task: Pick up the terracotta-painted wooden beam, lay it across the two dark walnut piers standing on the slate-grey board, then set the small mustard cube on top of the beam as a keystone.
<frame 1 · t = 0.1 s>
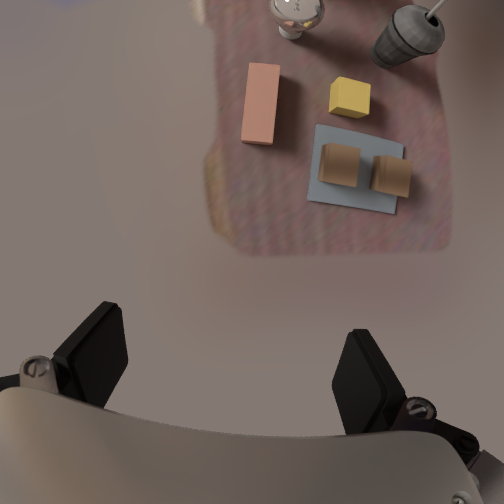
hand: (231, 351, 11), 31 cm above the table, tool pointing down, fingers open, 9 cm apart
board: (357, 169, 38), on the table
cube: (344, 101, 35), on the table
pier 2: (383, 175, 38), point 1 cm above the table, touching board
beverage cup: (382, 56, 33), on the table
light bulb: (289, 34, 32), on the table
beam: (260, 107, 36), on the table
pier 1: (333, 165, 37), point 1 cm above the table, touching board
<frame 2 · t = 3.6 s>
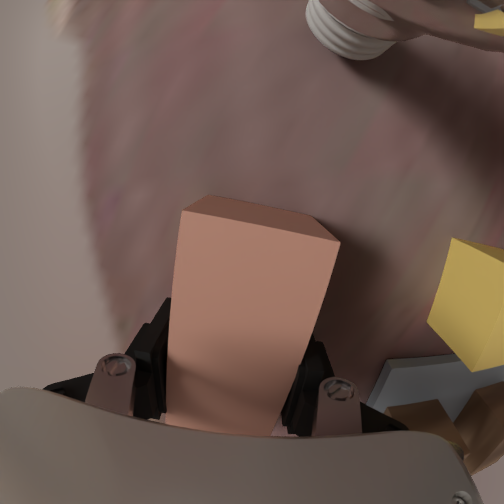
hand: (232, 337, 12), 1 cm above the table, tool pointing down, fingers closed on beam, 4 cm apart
board: (437, 412, 15), on the table
cube: (467, 283, 12), on the table
pier 2: (474, 408, 14), point 1 cm above the table, touching board
light bulb: (338, 38, 9), on the table
beam: (234, 328, 12), on the table, touching gripper
pier 1: (397, 428, 14), point 1 cm above the table, touching board
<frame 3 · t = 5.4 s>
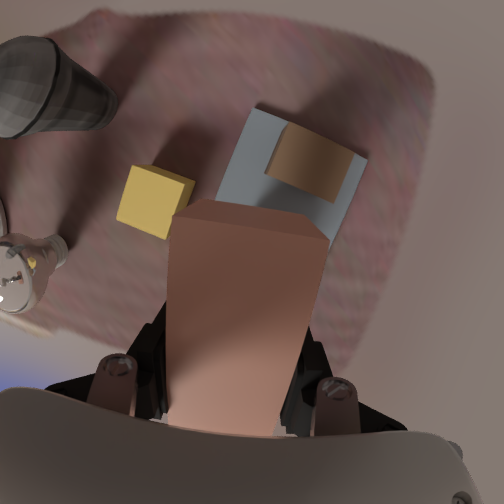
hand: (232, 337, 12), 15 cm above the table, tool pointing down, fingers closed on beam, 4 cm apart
board: (280, 205, 25), on the table
cube: (164, 196, 25), on the table
pier 2: (300, 163, 23), point 1 cm above the table, touching board
beverage cup: (99, 108, 22), on the table
light bulb: (63, 246, 26), on the table
beam: (233, 329, 12), point 14 cm above the table, touching gripper
when the fingers open (7 cm above the table, at t = 7.7 s): beam stays where it is, resting on pier 2, pier 1.
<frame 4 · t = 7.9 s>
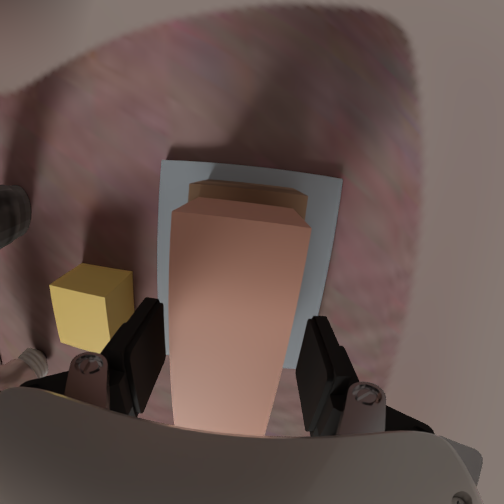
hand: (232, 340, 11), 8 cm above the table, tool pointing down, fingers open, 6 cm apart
board: (241, 274, 19), on the table
cube: (108, 294, 20), on the table
pier 2: (246, 216, 17), point 1 cm above the table, touching beam, board
beverage cup: (17, 210, 18), on the table
light bulb: (43, 354, 22), on the table
beam: (232, 318, 13), point 6 cm above the table, touching pier 2, pier 1
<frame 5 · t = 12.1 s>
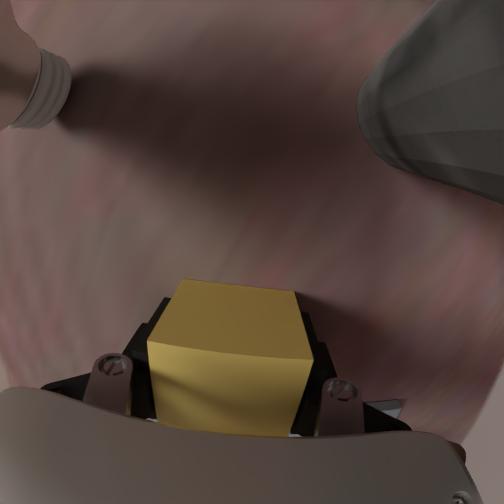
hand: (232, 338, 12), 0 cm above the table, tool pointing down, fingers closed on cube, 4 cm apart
board: (269, 455, 15), on the table
cube: (233, 332, 12), on the table, touching gripper
beverage cup: (403, 118, 9), on the table
light bulb: (61, 96, 9), on the table
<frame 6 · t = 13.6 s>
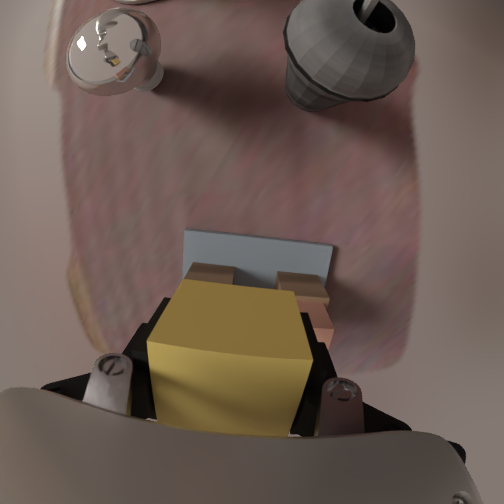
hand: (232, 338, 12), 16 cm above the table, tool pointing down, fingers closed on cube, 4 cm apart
board: (253, 288, 28), on the table
cube: (233, 332, 12), point 16 cm above the table, touching gripper
pier 2: (293, 296, 28), point 1 cm above the table, touching beam, board
beverage cup: (309, 89, 23), on the table
light bulb: (151, 79, 22), on the table
beam: (252, 317, 23), point 6 cm above the table, touching pier 2, pier 1
pier 1: (212, 288, 28), point 1 cm above the table, touching beam, board
when the fingers open (11 cm above the table, at t = 15.2 s): cube drops 1 cm, resting on beam.
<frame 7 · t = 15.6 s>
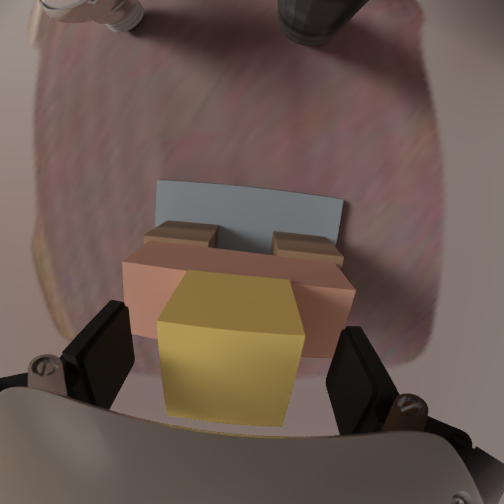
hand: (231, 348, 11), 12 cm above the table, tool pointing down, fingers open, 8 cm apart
board: (243, 256, 22), on the table
cube: (234, 319, 13), point 10 cm above the table, touching beam
pier 2: (294, 265, 22), point 1 cm above the table, touching beam, board
beverage cup: (306, 25, 17), on the table
light bulb: (132, 23, 17), on the table
beam: (238, 283, 17), point 6 cm above the table, touching cube, pier 2, pier 1
pier 1: (191, 254, 22), point 1 cm above the table, touching beam, board
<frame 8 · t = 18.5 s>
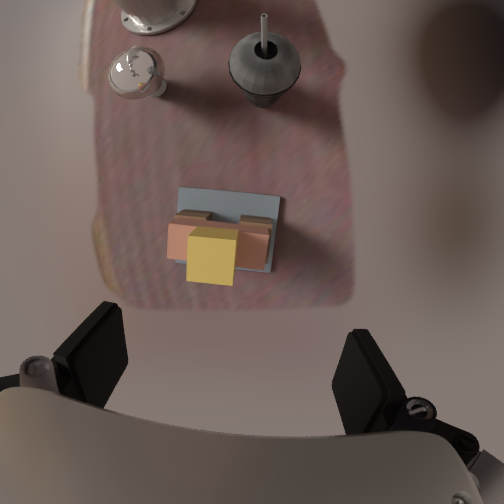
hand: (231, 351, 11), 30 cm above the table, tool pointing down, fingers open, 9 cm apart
board: (225, 229, 40), on the table
cube: (216, 248, 31), point 10 cm above the table, touching beam
pier 2: (253, 233, 40), point 1 cm above the table, touching beam, board
beverage cup: (262, 92, 35), on the table
light bulb: (158, 89, 34), on the table
beam: (220, 238, 35), point 6 cm above the table, touching cube, pier 2, pier 1
pier 1: (196, 227, 39), point 1 cm above the table, touching beam, board
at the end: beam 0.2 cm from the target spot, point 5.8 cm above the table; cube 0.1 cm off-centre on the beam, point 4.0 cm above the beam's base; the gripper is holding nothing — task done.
